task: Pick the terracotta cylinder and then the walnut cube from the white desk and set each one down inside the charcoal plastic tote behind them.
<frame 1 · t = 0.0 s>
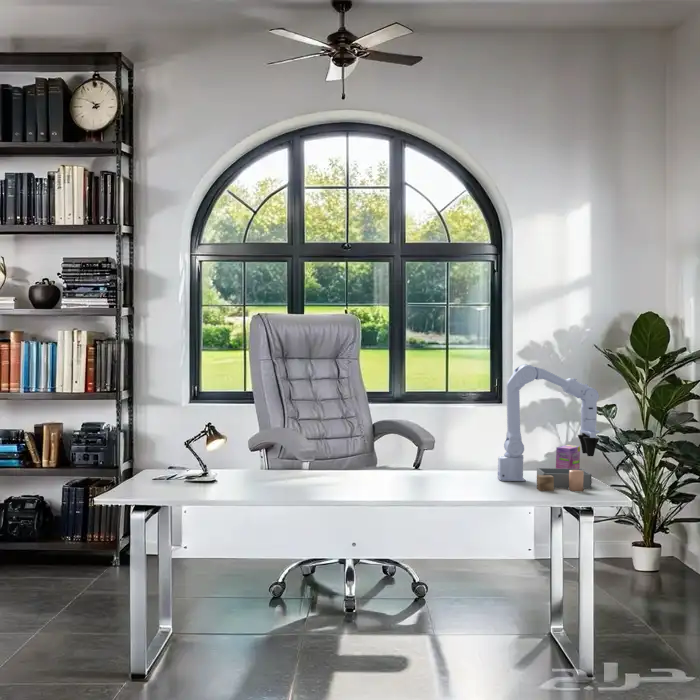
hand: (587, 454, 343), 10 cm above the table, fingers open, 7 cm apart
tote: (563, 484, 334), on the table
terracotta cylinder: (575, 490, 323), on the table
box: (567, 477, 354), on the table
walnut cube: (545, 489, 323), on the table
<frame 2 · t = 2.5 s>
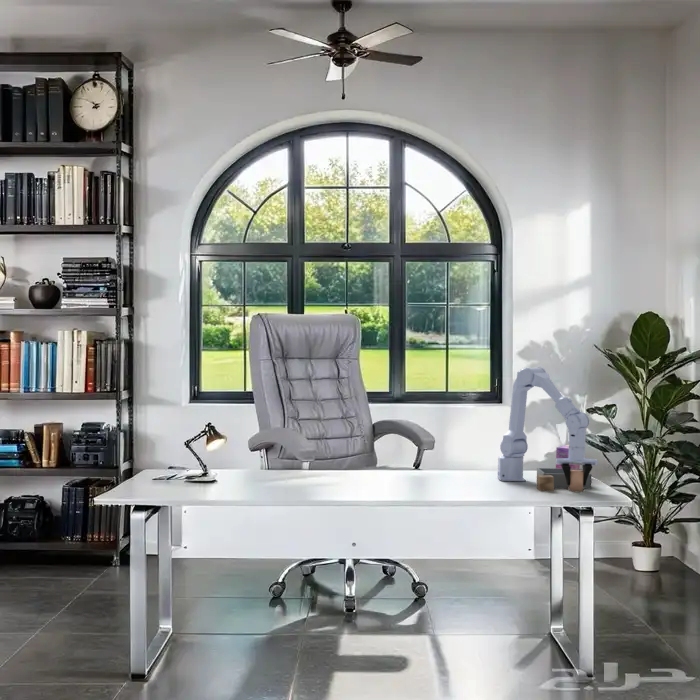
hand: (576, 484, 323), 2 cm above the table, fingers closed on terracotta cylinder, 5 cm apart
terracotta cylinder: (576, 490, 323), on the table, touching gripper
everything else where it was.
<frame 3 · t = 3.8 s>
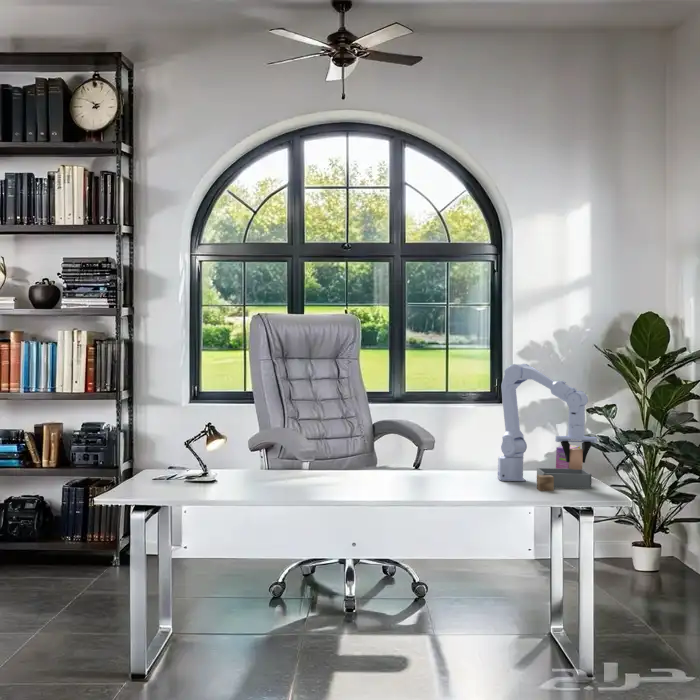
hand: (575, 462, 328), 9 cm above the table, fingers closed on terracotta cylinder, 5 cm apart
terracotta cylinder: (575, 468, 328), point 7 cm above the table, touching gripper
everything else where it was.
when the fingers open (6 cm above the table, at t = 5.6 s): terracotta cylinder drops 3 cm, resting on tote.
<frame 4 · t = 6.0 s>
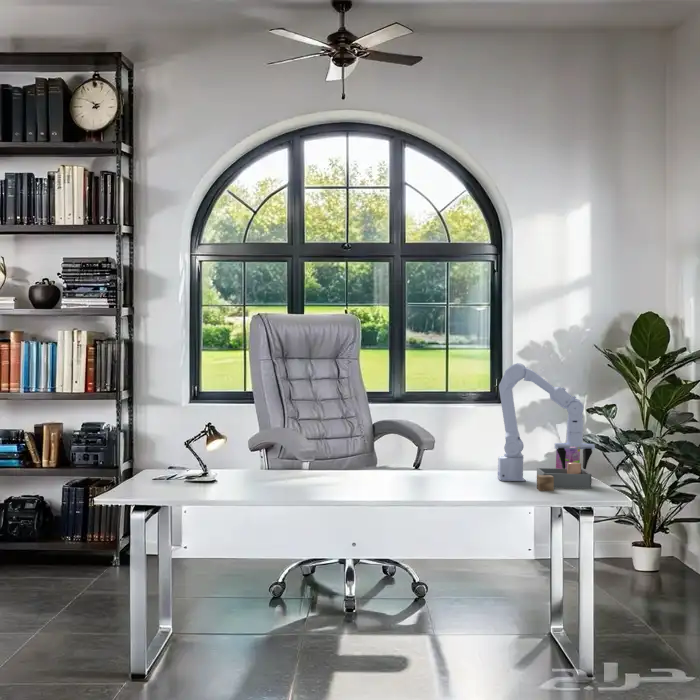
hand: (574, 468, 337), 6 cm above the table, fingers open, 7 cm apart
terracotta cylinder: (573, 482, 337), point 1 cm above the table, touching tote
everything else where it was.
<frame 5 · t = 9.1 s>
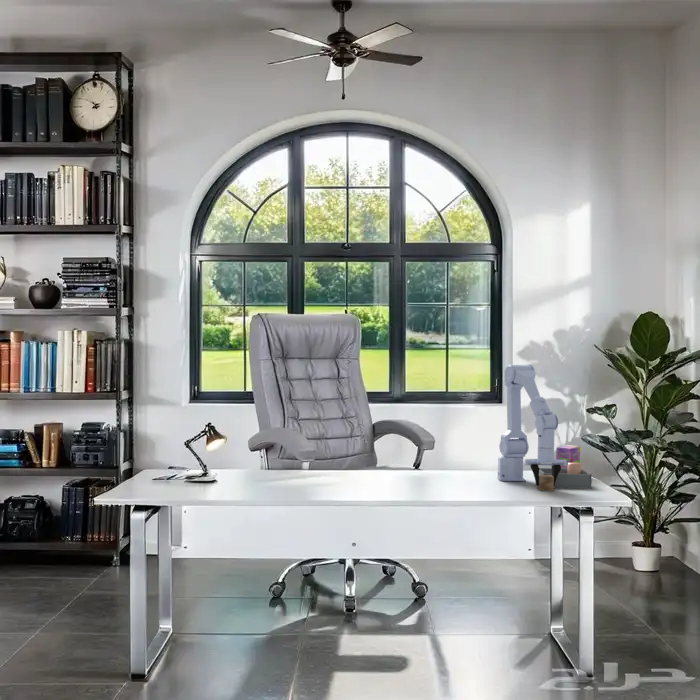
hand: (545, 485, 323), 1 cm above the table, fingers closed on walnut cube, 5 cm apart
walnut cube: (545, 489, 323), on the table, touching gripper
everything else where it was.
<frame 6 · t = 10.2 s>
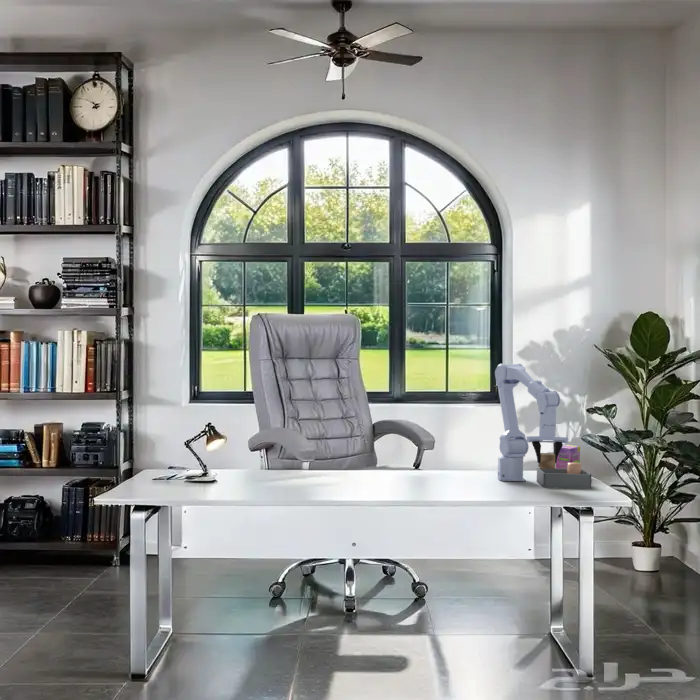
hand: (546, 462, 325), 9 cm above the table, fingers closed on walnut cube, 5 cm apart
walnut cube: (546, 467, 325), point 7 cm above the table, touching gripper
everything else where it was.
when the fingers open (6 cm above the table, at t = 11.8 s): walnut cube drops 3 cm, resting on tote.
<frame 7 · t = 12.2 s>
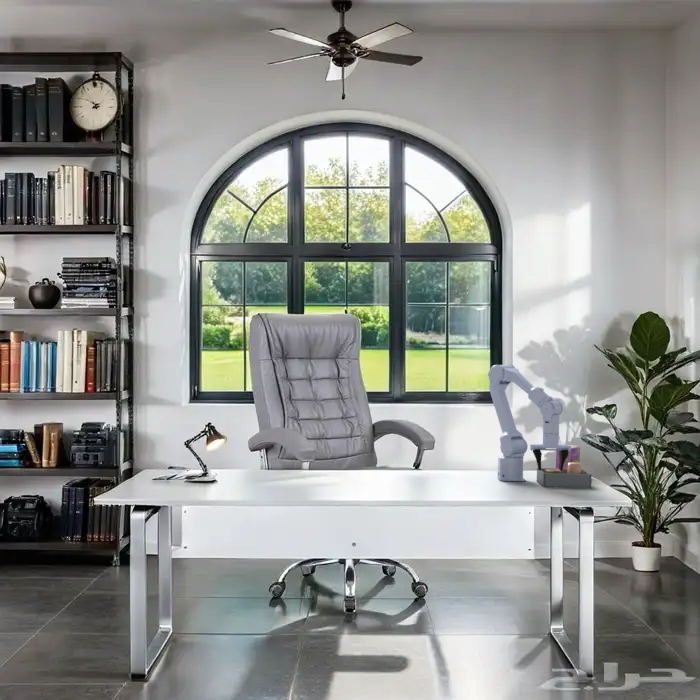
hand: (550, 470, 332), 6 cm above the table, fingers open, 7 cm apart
walnut cube: (553, 483, 332), point 1 cm above the table, touching gripper, tote
everything else where it was.
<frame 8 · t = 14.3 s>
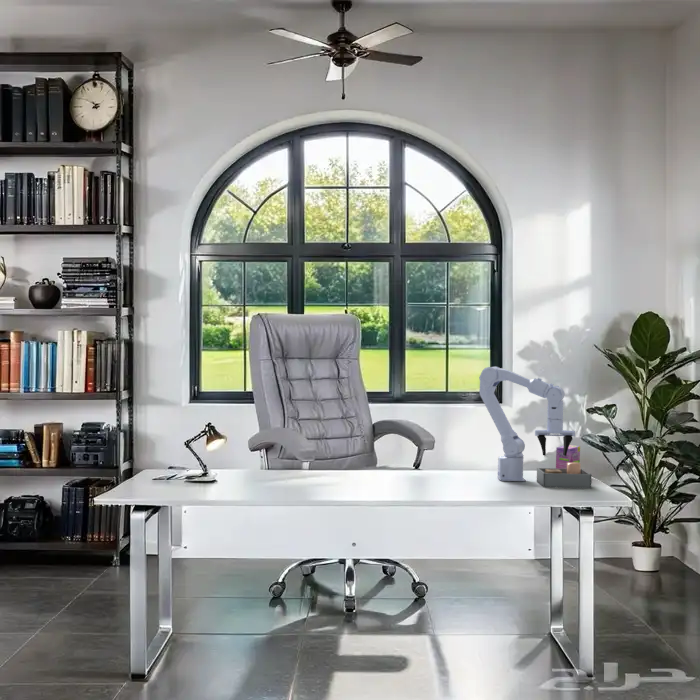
hand: (554, 455, 337), 10 cm above the table, fingers open, 7 cm apart
walnut cube: (553, 484, 332), point 1 cm above the table, touching tote
everything else where it was.
at the end: terracotta cylinder inside the target area on the tote (5.2 cm from its centre), point 0.7 cm above the tote's base; walnut cube inside the target area on the tote (5.0 cm from its centre), point 0.6 cm above the tote's base; the gripper is holding nothing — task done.
